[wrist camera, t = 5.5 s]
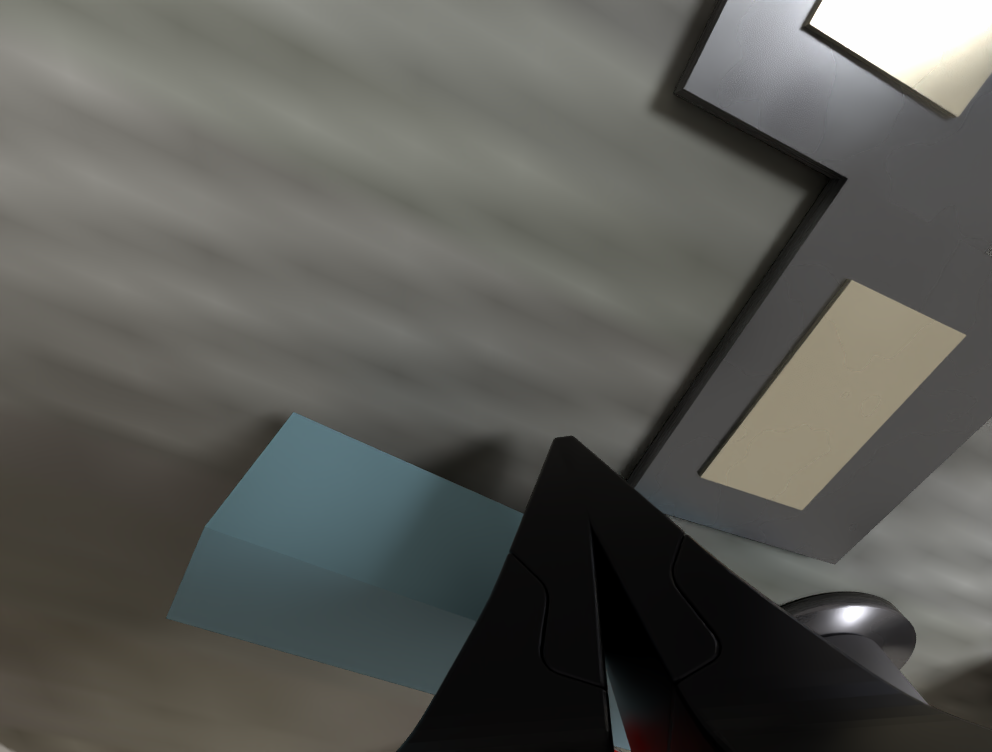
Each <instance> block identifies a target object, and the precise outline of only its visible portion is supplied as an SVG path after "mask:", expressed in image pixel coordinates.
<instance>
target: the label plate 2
mask: <svg viewBox="0 0 992 752" xmlns="http://www.w3.org/2000/svg"><path fill="white" fill-rule="evenodd" d="M991 417H992V257H991V256H989V255H987V254H985V253H984V252H982V251H980V250H978V249H976V248H974V247H973V246H971V245H969V244H967V243H965V242H964V241H962V240H960V239H958V238H956V237H954V236H953V235H951V234H949V233H947V232H945V231H943V230H942V229H940V228H938V227H936V226H934V225H932V224H931V223H929V222H927V221H925V220H923V219H921V218H920V217H918V216H916V215H914V214H912V213H910V212H909V211H907V210H905V209H903V208H901V207H899V206H898V205H896V204H894V203H892V202H890V201H888V200H887V199H885V198H883V197H881V196H879V195H877V194H876V193H874V192H872V191H870V190H868V189H866V188H865V187H863V186H861V185H859V184H857V183H855V182H854V181H852V180H850V179H837V178H831V179H830V181H829V182H828V184H827V185H826V187H825V188H824V190H823V191H822V193H821V194H820V196H819V197H818V199H817V200H816V201H815V203H814V204H813V206H812V207H811V209H810V210H809V212H808V213H807V215H806V216H805V218H804V219H803V221H802V222H801V224H800V225H799V227H798V228H797V230H796V231H795V233H794V234H793V236H792V237H791V238H790V240H789V241H788V243H787V244H786V246H785V247H784V249H783V250H782V252H781V253H780V255H779V256H778V258H777V259H776V261H775V262H774V264H773V265H772V267H771V268H770V270H769V271H768V273H767V274H766V276H765V277H764V278H763V280H762V281H761V283H760V284H759V286H758V287H757V289H756V290H755V292H754V293H753V295H752V296H751V298H750V299H749V301H748V302H747V304H746V305H745V307H744V308H743V310H742V311H741V313H740V314H739V315H738V317H737V318H736V320H735V321H734V323H733V324H732V326H731V327H730V329H729V330H728V332H727V333H726V335H725V336H724V338H723V339H722V341H721V342H720V344H719V345H718V347H717V348H716V350H715V351H714V353H713V354H712V355H711V357H710V358H709V360H708V361H707V363H706V364H705V366H704V367H703V369H702V370H701V372H700V373H699V375H698V376H697V378H696V379H695V381H694V382H693V384H692V385H691V387H690V388H689V390H688V391H687V392H686V394H685V395H684V397H683V398H682V400H681V401H680V403H679V404H678V406H677V407H676V409H675V410H674V412H673V413H672V415H671V416H670V418H669V419H668V421H667V422H666V424H665V425H664V427H663V428H662V430H661V431H660V432H659V434H658V435H657V437H656V438H655V440H654V441H653V443H652V444H651V446H650V447H649V449H648V450H647V452H646V453H645V455H644V456H643V458H642V459H641V461H640V462H639V464H638V465H637V467H636V468H635V470H634V471H633V472H632V474H631V475H630V477H629V478H628V480H627V481H626V482H627V483H628V484H630V485H631V486H632V487H633V488H634V489H635V490H637V491H638V492H639V493H640V494H641V495H642V496H644V497H645V498H646V499H647V500H648V501H649V502H651V503H652V504H653V505H654V506H655V507H656V508H658V509H659V510H660V511H661V512H662V513H664V514H668V515H671V516H675V517H678V518H681V519H685V520H688V521H691V522H695V523H698V524H701V525H705V526H708V527H711V528H715V529H718V530H721V531H725V532H728V533H731V534H735V535H738V536H742V537H745V538H748V539H752V540H755V541H758V542H762V543H765V544H768V545H772V546H775V547H778V548H782V549H785V550H788V551H792V552H795V553H798V554H802V555H805V556H808V557H812V558H815V559H819V560H822V561H825V562H829V563H832V564H836V563H837V562H838V561H839V560H840V559H841V558H842V557H843V556H844V555H845V554H846V553H847V552H848V551H849V550H851V549H852V548H853V547H854V546H855V545H856V544H857V543H858V542H859V541H860V540H861V539H862V538H863V537H864V536H865V535H866V534H868V533H869V532H870V531H871V530H872V529H873V528H874V527H875V526H876V525H877V524H878V523H879V522H880V521H881V520H882V519H883V518H885V517H886V516H887V515H888V514H889V513H890V512H891V511H892V510H893V509H894V508H895V507H896V506H897V505H898V504H899V503H900V502H901V501H903V500H904V499H905V498H906V497H907V496H908V495H909V494H910V493H911V492H912V491H913V490H914V489H915V488H916V487H917V486H918V485H920V484H921V483H922V482H923V481H924V480H925V479H926V478H927V477H928V476H929V475H930V474H931V473H932V472H933V471H934V470H935V469H937V468H938V467H939V466H940V465H941V464H942V463H943V462H944V461H945V460H946V459H947V458H948V457H949V456H950V455H951V454H952V453H954V452H955V451H956V450H957V449H958V448H959V447H960V446H961V445H962V444H963V443H964V442H965V441H966V440H967V439H968V438H969V437H970V436H972V435H973V434H974V433H975V432H976V431H977V430H978V429H979V428H980V427H981V426H982V425H983V424H984V423H985V422H986V421H987V420H989V419H990V418H991Z"/></svg>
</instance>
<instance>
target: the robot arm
mask: <svg viewBox="0 0 992 752" xmlns="http://www.w3.org/2000/svg"><path fill="white" fill-rule="evenodd" d="M606 670H607V673H608V677H609V680H610V683H611V687H612V690H613V693H614V696H615V700H616V703H617V706H618V710H619V713H620V716H621V720H622V723H623V726H624V729H625V733H626V736H627V739H628V743H629V746H630V749H631V752H992V729H989V728H986V727H983V726H980V725H977V724H975V723H972V722H969V721H966V720H963V719H961V718H958V717H955V716H953V715H950V714H948V713H945V712H943V711H941V710H939V709H937V708H934V707H932V706H930V705H928V704H926V703H924V702H922V701H920V700H918V699H916V698H914V697H913V696H911V695H909V694H907V693H905V692H903V691H902V690H900V689H898V688H897V687H895V686H893V685H892V684H890V683H888V682H887V681H885V680H884V679H882V678H881V677H879V676H878V675H876V674H875V673H873V672H872V671H870V670H869V669H867V668H866V667H864V666H863V665H861V664H860V663H859V662H857V661H856V660H854V659H853V658H852V657H850V656H849V655H847V654H846V653H845V652H843V651H842V650H840V649H839V648H838V647H836V646H835V645H833V644H832V643H831V642H829V641H828V640H826V639H825V638H824V637H822V636H821V635H819V634H818V633H817V632H815V631H814V630H812V629H811V628H809V627H808V626H807V625H805V624H804V623H802V622H801V621H800V620H798V619H797V618H795V617H794V616H793V615H791V614H790V613H788V612H787V611H786V610H784V609H783V608H781V607H780V606H779V605H777V604H776V603H774V602H773V601H772V600H770V599H769V598H767V597H766V596H765V595H763V594H762V593H761V592H759V591H758V590H757V589H755V588H754V587H753V586H751V585H750V584H749V583H747V582H746V581H744V580H743V579H742V578H740V577H739V576H738V575H736V574H735V573H734V572H732V571H731V570H730V569H729V568H728V567H726V566H725V565H724V564H723V563H721V562H720V561H719V560H718V559H716V558H715V557H714V556H713V555H712V554H710V553H709V552H708V551H707V550H705V549H704V548H703V547H702V546H701V545H700V544H698V543H697V542H696V541H695V540H694V539H693V538H691V537H690V536H689V535H685V532H684V531H683V530H682V529H681V528H680V527H678V526H677V525H676V524H675V523H674V522H673V521H671V520H670V519H669V518H668V517H667V516H666V515H664V514H663V513H662V512H661V511H660V510H659V509H658V508H656V507H655V506H654V505H653V504H652V503H651V502H649V501H648V500H647V499H646V498H645V497H644V496H642V495H641V494H640V493H639V492H638V491H637V490H635V489H634V488H633V487H632V486H631V485H630V484H628V483H627V482H626V481H625V480H624V479H623V478H621V477H620V476H619V475H618V474H617V473H616V472H615V471H613V470H612V469H611V468H610V467H609V466H608V465H606V464H605V463H604V462H603V461H602V460H601V459H599V458H598V457H597V456H596V455H595V454H594V453H592V452H591V451H590V450H589V449H588V448H587V447H585V446H584V445H583V444H582V443H581V442H580V441H578V440H577V439H576V438H575V437H573V436H565V437H557V438H555V439H554V440H553V442H552V444H551V447H550V449H549V452H548V454H547V457H546V459H545V462H544V464H543V467H542V469H541V472H540V474H539V477H538V480H537V482H536V485H535V487H534V490H533V492H532V495H531V497H530V500H529V502H528V505H527V507H526V510H525V512H524V515H523V517H522V520H521V522H520V525H519V527H518V530H517V532H516V535H515V537H514V540H513V542H512V545H511V547H510V550H509V554H508V555H507V557H506V559H505V562H504V564H503V567H502V569H501V572H500V574H499V576H498V578H497V581H496V583H495V585H494V587H493V590H492V592H491V594H490V596H489V598H488V600H487V602H486V604H485V606H484V608H483V610H482V612H481V614H480V616H479V617H478V619H477V621H476V623H475V625H474V627H473V629H472V630H471V632H470V634H469V636H468V637H467V639H466V641H465V643H464V645H463V646H462V648H461V650H460V652H459V653H458V655H457V657H456V659H455V660H454V662H453V664H452V666H451V668H450V669H449V671H448V673H447V675H446V676H445V678H444V680H443V682H442V683H441V685H440V687H439V689H438V691H437V692H436V694H435V696H434V698H433V699H432V701H431V703H430V705H429V706H428V708H427V710H426V711H425V713H424V715H423V716H422V718H421V720H420V721H419V723H418V724H417V726H416V727H415V729H414V730H413V731H412V733H411V734H410V735H409V737H408V738H407V739H406V741H405V742H404V743H403V744H402V746H401V747H400V748H399V749H398V750H397V751H396V752H614V744H613V735H612V725H611V715H610V705H609V696H608V685H607V674H606Z"/></svg>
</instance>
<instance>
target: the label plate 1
mask: <svg viewBox="0 0 992 752" xmlns="http://www.w3.org/2000/svg"><path fill="white" fill-rule="evenodd" d="M674 94H676V95H678V96H679V97H681V98H683V99H685V100H687V101H689V102H691V103H692V104H694V105H696V106H698V107H700V108H702V109H703V110H705V111H707V112H709V113H711V114H713V115H715V116H716V117H718V118H720V119H722V120H724V121H726V122H728V123H729V124H731V125H733V126H735V127H737V128H739V129H740V130H742V131H744V132H746V133H748V134H750V135H752V136H753V137H755V138H757V139H759V140H761V141H763V142H765V143H766V144H768V145H770V146H772V147H774V148H776V149H777V150H779V151H781V152H783V153H785V154H787V155H789V156H790V157H792V158H794V159H796V160H798V161H800V162H802V163H803V164H805V165H807V166H809V167H811V168H813V169H815V170H816V171H818V172H820V173H822V174H824V175H826V176H827V177H829V178H837V179H850V180H852V181H854V182H855V183H857V184H859V185H861V186H863V187H865V188H866V189H868V190H870V191H872V192H874V193H876V194H877V195H879V196H881V197H883V198H885V199H887V200H888V201H890V202H892V203H894V204H896V205H898V206H899V207H901V208H903V209H905V210H907V211H909V212H910V213H912V214H914V215H916V216H918V217H920V218H921V219H923V220H925V221H927V222H929V223H931V224H932V225H934V226H936V227H938V228H940V229H942V230H943V231H945V232H947V233H949V234H951V235H953V236H954V237H956V238H958V239H960V240H962V241H964V242H965V243H967V244H969V245H971V246H973V247H974V248H976V249H978V250H980V251H982V252H984V253H985V252H986V251H987V250H988V248H989V247H990V246H991V245H992V0H719V1H718V3H717V5H716V7H715V9H714V11H713V13H712V15H711V17H710V19H709V21H708V23H707V25H706V27H705V29H704V31H703V33H702V35H701V37H700V39H699V41H698V44H697V46H696V48H695V50H694V52H693V54H692V56H691V58H690V60H689V62H688V64H687V66H686V68H685V70H684V72H683V74H682V76H681V78H680V80H679V82H678V84H677V86H676V89H675V91H674Z"/></svg>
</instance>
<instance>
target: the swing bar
mask: <svg viewBox="0 0 992 752" xmlns="http://www.w3.org/2000/svg"><path fill="white" fill-rule="evenodd" d="M523 515H524V514H523V513H521V512H518V511H516V510H514V509H512V508H509V507H507V506H505V505H503V504H500V503H498V502H496V501H494V500H491V499H489V498H487V497H485V496H482V495H480V494H478V493H476V492H473V491H471V490H469V489H466V488H464V487H462V486H460V485H457V484H455V483H453V482H451V481H448V480H446V479H444V478H442V477H439V476H437V475H435V474H433V473H430V472H428V471H426V470H424V469H421V468H419V467H417V466H414V465H412V464H410V463H408V462H405V461H403V460H401V459H399V458H396V457H394V456H392V455H390V454H387V453H385V452H383V451H381V450H378V449H376V448H374V447H371V446H369V445H367V444H365V443H362V442H360V441H358V440H356V439H353V438H351V437H349V436H347V435H344V434H342V433H340V432H338V431H335V430H333V429H331V428H329V427H326V426H324V425H322V424H319V423H317V422H315V421H313V420H310V419H308V418H306V417H304V416H301V415H299V414H297V413H295V412H293V413H292V415H291V416H290V417H289V419H288V420H287V421H286V422H285V424H284V425H283V426H282V428H281V429H280V430H279V431H278V433H277V434H276V435H275V437H274V438H273V439H272V441H271V442H270V443H269V444H268V446H267V447H266V448H265V450H264V451H263V452H262V453H261V455H260V456H259V457H258V459H257V460H256V461H255V462H254V464H253V465H252V466H251V468H250V469H249V470H248V471H247V473H246V474H245V475H244V477H243V478H242V479H241V481H240V482H239V483H238V484H237V486H236V487H235V488H234V490H233V491H232V492H231V493H230V495H229V496H228V497H227V499H226V500H225V501H224V502H223V504H222V505H221V506H220V508H219V509H218V510H217V511H216V513H215V514H214V515H213V517H212V518H211V519H210V520H209V522H208V523H207V524H206V526H205V527H204V529H203V532H202V534H201V536H200V539H199V541H198V544H197V546H196V548H195V551H194V553H193V555H192V558H191V560H190V563H189V565H188V567H187V570H186V572H185V574H184V577H183V579H182V581H181V584H180V586H179V589H178V591H177V593H176V596H175V598H174V600H173V603H172V605H171V607H170V610H169V612H168V615H167V617H166V618H167V619H170V620H174V621H177V622H181V623H184V624H188V625H191V626H195V627H198V628H202V629H205V630H209V631H212V632H216V633H219V634H223V635H226V636H230V637H233V638H237V639H240V640H244V641H247V642H251V643H254V644H258V645H261V646H265V647H268V648H272V649H275V650H279V651H282V652H286V653H290V654H293V655H297V656H300V657H304V658H307V659H311V660H314V661H318V662H321V663H325V664H328V665H332V666H335V667H339V668H342V669H346V670H349V671H353V672H356V673H360V674H363V675H367V676H370V677H374V678H377V679H381V680H384V681H388V682H391V683H395V684H398V685H402V686H406V687H409V688H413V689H416V690H420V691H423V692H427V693H430V694H434V695H435V694H436V692H437V691H438V689H439V687H440V685H441V683H442V682H443V680H444V678H445V676H446V675H447V673H448V671H449V669H450V668H451V666H452V664H453V662H454V660H455V659H456V657H457V655H458V653H459V652H460V650H461V648H462V646H463V645H464V643H465V641H466V639H467V637H468V636H469V634H470V632H471V630H472V629H473V627H474V625H475V623H476V621H477V619H478V617H479V616H480V614H481V612H482V610H483V608H484V606H485V604H486V602H487V600H488V598H489V596H490V594H491V592H492V590H493V587H494V585H495V583H496V581H497V578H498V576H499V574H500V572H501V569H502V567H503V564H504V562H505V559H506V557H507V555H508V554H509V550H510V547H511V545H512V542H513V540H514V537H515V535H516V532H517V530H518V527H519V525H520V522H521V520H522V517H523ZM825 639H826V640H828V641H829V642H831V643H832V644H833V645H835V646H836V647H838V648H839V649H840V650H842V651H843V652H845V653H846V654H847V655H849V656H850V657H852V658H853V659H854V660H856V661H857V662H859V663H860V664H861V665H863V666H864V667H866V668H867V669H869V670H870V671H872V672H873V673H875V674H876V675H878V676H879V677H881V678H882V679H884V680H885V681H887V682H888V683H890V684H892V685H893V686H895V687H897V688H898V689H900V690H902V691H903V692H905V693H907V694H909V695H911V696H913V697H914V698H916V699H918V700H920V701H922V702H924V703H926V704H928V703H927V702H926V701H925V700H924V699H923V697H922V696H921V695H920V694H919V693H918V692H917V690H916V689H915V688H914V687H913V686H912V684H911V683H910V682H909V681H908V680H907V679H906V677H905V676H904V675H903V674H902V673H901V672H900V670H899V669H898V668H897V667H896V666H895V664H894V663H893V662H892V661H891V660H890V659H889V657H888V656H887V655H886V654H885V653H884V652H883V650H882V649H881V648H880V647H879V646H878V644H877V643H875V642H874V641H873V640H871V639H869V638H867V637H864V636H859V635H836V636H830V637H825ZM606 674H607V685H608V696H609V705H610V715H611V725H612V735H613V744H614V746H616V747H620V748H623V749H627V750H630V751H631V749H630V746H629V743H628V739H627V736H626V733H625V729H624V726H623V723H622V720H621V716H620V713H619V710H618V706H617V703H616V700H615V696H614V693H613V690H612V687H611V683H610V680H609V677H608V673H607V670H606ZM928 705H929V704H928Z"/></svg>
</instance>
